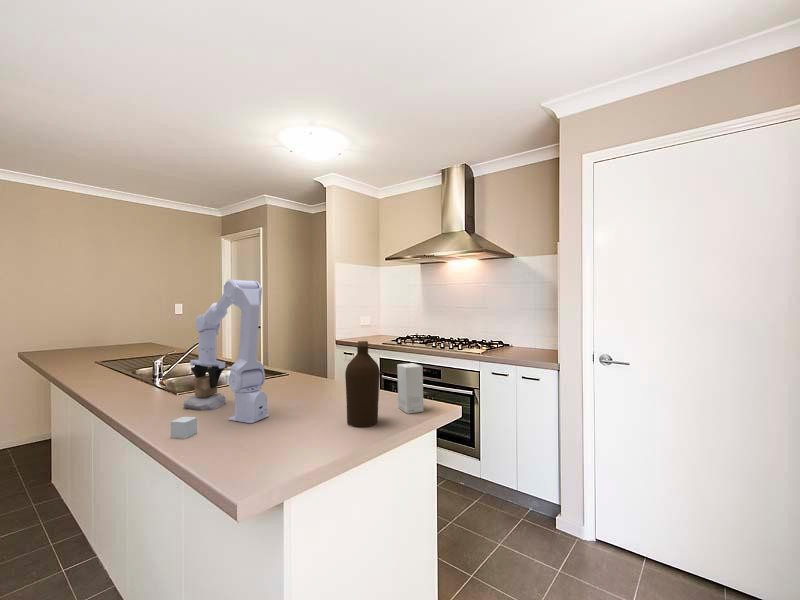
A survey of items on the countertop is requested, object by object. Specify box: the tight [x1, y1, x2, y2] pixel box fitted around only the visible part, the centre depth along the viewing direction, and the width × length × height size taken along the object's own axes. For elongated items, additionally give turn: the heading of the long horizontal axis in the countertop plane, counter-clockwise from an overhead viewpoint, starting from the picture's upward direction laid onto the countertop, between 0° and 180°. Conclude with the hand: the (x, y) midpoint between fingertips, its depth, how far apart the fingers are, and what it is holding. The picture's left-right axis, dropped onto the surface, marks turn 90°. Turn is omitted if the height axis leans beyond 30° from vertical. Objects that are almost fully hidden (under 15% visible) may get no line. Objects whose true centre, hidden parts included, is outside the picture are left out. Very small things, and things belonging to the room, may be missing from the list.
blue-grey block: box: [170, 416, 198, 440], centre depth 107 cm, size 4×4×4 cm
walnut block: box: [193, 375, 218, 397], centre depth 137 cm, size 5×5×6 cm
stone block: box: [183, 392, 227, 411], centre depth 136 cm, size 12×5×10 cm
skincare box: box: [396, 362, 424, 415], centre depth 132 cm, size 8×7×16 cm
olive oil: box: [344, 340, 381, 428], centre depth 119 cm, size 11×11×25 cm
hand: (207, 386), depth 137 cm, fingers closed on walnut block, 5 cm apart
